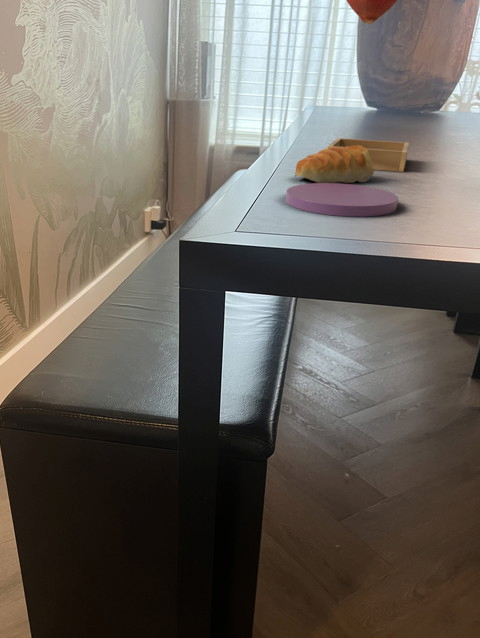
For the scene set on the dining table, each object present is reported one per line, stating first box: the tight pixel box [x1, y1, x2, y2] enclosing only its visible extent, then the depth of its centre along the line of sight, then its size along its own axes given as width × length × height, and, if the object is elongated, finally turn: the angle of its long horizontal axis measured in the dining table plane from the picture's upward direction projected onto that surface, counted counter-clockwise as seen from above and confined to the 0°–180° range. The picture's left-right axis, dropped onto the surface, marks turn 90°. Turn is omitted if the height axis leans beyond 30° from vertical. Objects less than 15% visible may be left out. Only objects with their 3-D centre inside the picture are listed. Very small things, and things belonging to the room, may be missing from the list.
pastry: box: [294, 145, 375, 184], centre depth 72 cm, size 9×7×4 cm
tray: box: [327, 137, 410, 173], centre depth 84 cm, size 10×10×2 cm
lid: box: [285, 182, 399, 218], centre depth 61 cm, size 11×11×1 cm
